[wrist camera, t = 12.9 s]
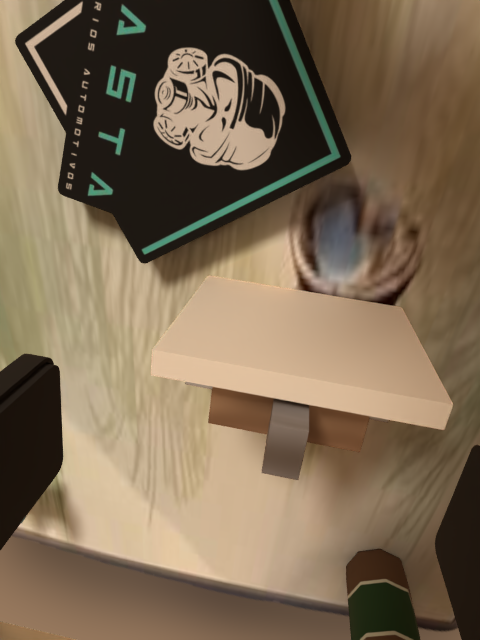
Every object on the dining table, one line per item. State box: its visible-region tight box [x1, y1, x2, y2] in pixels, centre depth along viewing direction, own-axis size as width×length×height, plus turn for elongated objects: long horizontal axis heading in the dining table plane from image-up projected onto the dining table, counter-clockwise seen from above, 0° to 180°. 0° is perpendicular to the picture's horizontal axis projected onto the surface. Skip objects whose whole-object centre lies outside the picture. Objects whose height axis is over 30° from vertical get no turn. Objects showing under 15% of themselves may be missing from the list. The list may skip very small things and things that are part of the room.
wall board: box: [151, 275, 453, 430], centre depth 40 cm, size 10×20×18 cm, turn 83°
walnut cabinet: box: [208, 387, 370, 480], centre depth 37 cm, size 5×12×15 cm, turn 83°
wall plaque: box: [15, 0, 351, 263], centre depth 40 cm, size 30×4×30 cm
